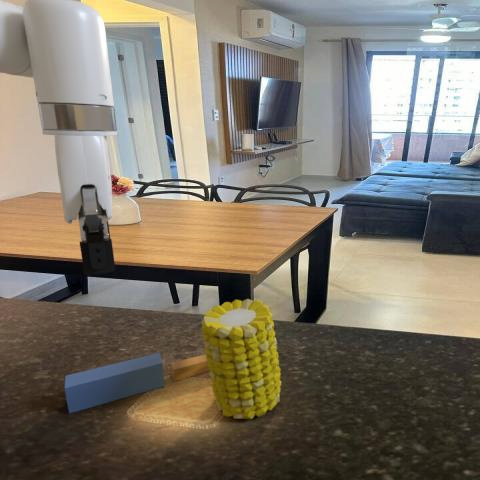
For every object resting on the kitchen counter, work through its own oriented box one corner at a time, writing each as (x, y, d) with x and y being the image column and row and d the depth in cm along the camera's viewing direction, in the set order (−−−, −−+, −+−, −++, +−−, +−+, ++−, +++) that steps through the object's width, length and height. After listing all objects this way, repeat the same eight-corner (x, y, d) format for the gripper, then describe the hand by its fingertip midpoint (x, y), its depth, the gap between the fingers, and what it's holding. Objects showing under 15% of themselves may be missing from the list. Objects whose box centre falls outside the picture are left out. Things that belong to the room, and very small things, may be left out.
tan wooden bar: (174, 381, 58) (172, 370, 57) (171, 374, 59) (170, 363, 59) (249, 359, 64) (249, 349, 63) (245, 353, 65) (245, 343, 65)
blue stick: (161, 375, 59) (159, 352, 58) (164, 386, 57) (162, 363, 55) (70, 400, 53) (65, 375, 52) (69, 413, 51) (64, 388, 50)
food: (285, 425, 52) (209, 437, 50) (277, 359, 62) (213, 367, 60) (282, 343, 44) (193, 354, 43) (274, 284, 54) (201, 290, 53)
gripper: (47, 121, 50) (68, 246, 55) (31, 121, 35) (60, 290, 40) (112, 123, 53) (126, 240, 58) (121, 123, 39) (138, 278, 44)
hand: (99, 260), depth 49 cm, fingers open, 9 cm apart
